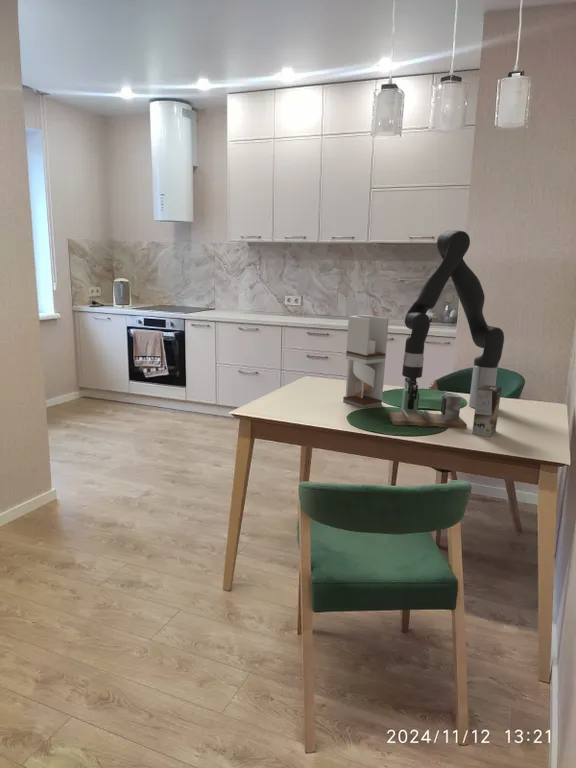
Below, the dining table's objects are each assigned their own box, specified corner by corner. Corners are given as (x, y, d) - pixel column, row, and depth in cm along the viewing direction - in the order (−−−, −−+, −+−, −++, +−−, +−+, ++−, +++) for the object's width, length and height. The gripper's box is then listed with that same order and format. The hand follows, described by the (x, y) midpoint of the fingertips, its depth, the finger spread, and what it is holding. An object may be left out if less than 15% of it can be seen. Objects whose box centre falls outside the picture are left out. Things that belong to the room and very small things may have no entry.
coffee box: (490, 437, 189) (496, 391, 186) (471, 433, 192) (477, 388, 189) (496, 431, 197) (501, 386, 193) (477, 427, 200) (482, 384, 196)
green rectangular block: (415, 410, 220) (417, 388, 218) (417, 413, 215) (419, 391, 213) (401, 409, 220) (403, 387, 218) (403, 413, 215) (405, 390, 213)
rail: (457, 418, 210) (460, 391, 208) (466, 428, 199) (469, 399, 196) (388, 415, 211) (390, 388, 208) (393, 424, 199) (395, 396, 197)
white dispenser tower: (343, 401, 229) (348, 316, 221) (361, 398, 235) (368, 315, 227) (362, 408, 220) (369, 319, 212) (381, 404, 226) (388, 318, 218)
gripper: (427, 368, 206) (422, 412, 210) (419, 361, 220) (415, 403, 224) (406, 367, 206) (402, 411, 210) (400, 360, 220) (396, 402, 224)
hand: (409, 406), depth 217 cm, fingers closed on green rectangular block, 5 cm apart
